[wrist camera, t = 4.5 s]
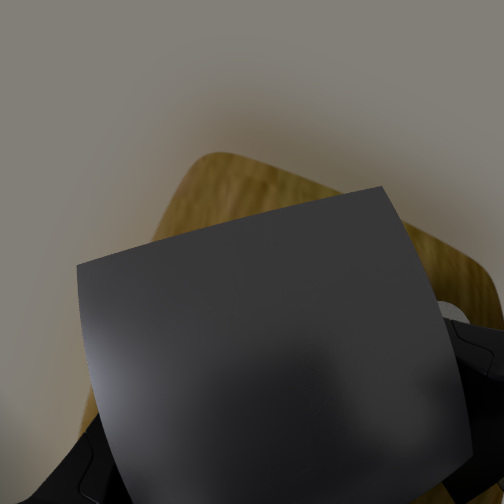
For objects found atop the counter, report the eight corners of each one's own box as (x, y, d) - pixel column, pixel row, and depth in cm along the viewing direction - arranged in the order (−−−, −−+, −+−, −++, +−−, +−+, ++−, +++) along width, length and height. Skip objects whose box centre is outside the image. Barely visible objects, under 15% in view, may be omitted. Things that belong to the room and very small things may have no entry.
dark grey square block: (321, 403, 13) (473, 455, 2) (224, 432, 12) (170, 566, 2) (291, 312, 14) (381, 186, 4) (196, 339, 14) (76, 265, 4)
